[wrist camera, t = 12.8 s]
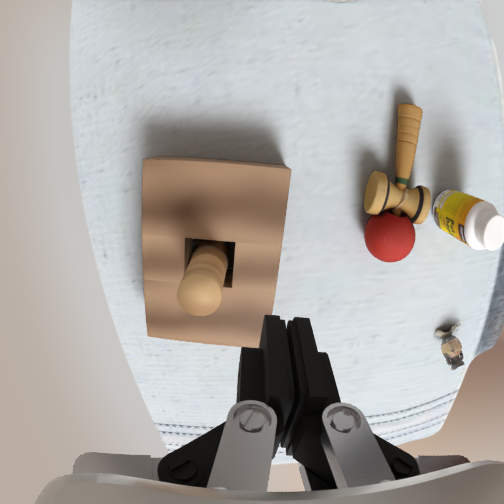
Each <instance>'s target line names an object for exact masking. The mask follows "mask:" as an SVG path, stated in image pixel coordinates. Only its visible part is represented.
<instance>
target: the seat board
mask: <svg viewBox="0 0 504 504" xmlns="http://www.w3.org/2000/svg"><path fill="white" fill-rule="evenodd" d="M290 176H291V169H290V168H288V167H287V166H285V165H276V164H267V163H257V162H246V161H235V160H222V159H207V158H189V157H166V156H157V157H152V158H147V159H143V177H142V257H143V280H144V297H145V311H146V323H147V334H148V336H149V337H156V338H163V339H171V340H179V341H187V342H196V343H205V344H215V345H226V346H238V347H251V348H259V343H260V338H261V332H262V326H263V320H264V316H265V314H266V315H272V311H273V304H274V298H275V291H276V284H277V277H278V269H279V262H280V255H281V248H282V240H283V232H284V225H285V217H286V209H287V201H288V193H289V185H290ZM193 238H194V239H206V240H217V241H229V242H236V244H235V256H234V269H229V268H227V271H226V273H225V279H224V285H223V290H222V296H221V302H220V305H219V307H218V308H217V310H216V311H214V312H213V313H212V314H209V315H206V316H195V315H192V314H190V313H188V312H186V311H185V310H184V309H183V308H182V307H181V306H180V304H179V302H178V300H177V289H178V287H179V285H180V282H181V280H182V278H183V276H184V274H185V272H186V269H187V267H188V265H189V263H190V259H191V256H192V253H193Z"/></svg>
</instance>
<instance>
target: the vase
mask: <svg viewBox="0 0 504 504" xmlns="http://www.w3.org/2000/svg"><path fill="white" fill-rule="evenodd" d="M458 324H459V325H461V324H460V323H458ZM459 325H452V328H451V326H450V328H451V329H450V331H449V332H445V333H444V332H442V331H441V330H439V329H438V330H436V333H435V335H437V336H440V337H441V338H442V339H443V341H442V344H441V350H442V354H443V356H444V357H445V358H446V361H447V364H448V365H450V366H451V365H452V366H451V370H455V369H456V368H457V367H459V366H462V365H464V362H463V361H461V360H462V359H463V354H462V351H461V349H462V346H461V343H460V341H459V339H458V338H456V337H455V336H453V335H452V329H453V328H457V326H459ZM453 330H455V329H453ZM439 331H440V332H439ZM456 331H457V330H456ZM434 338H435V337H434ZM459 354H460V358H459ZM449 359H450V360H451V361H450V360H449Z"/></svg>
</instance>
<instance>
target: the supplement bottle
mask: <svg viewBox="0 0 504 504" xmlns="http://www.w3.org/2000/svg"><path fill="white" fill-rule="evenodd" d="M433 217H434V221H435V223H436V225H437V226H438V227H439V228H440V229H442V230H443V231H445V232H447V233H449V234H450V235H452V236H454V237H455V238H457V239H459V240H460V241H462V242H464V243H465V244H467V245H468V246H470V247H472V248H473V249H476V250H482V249H485V248H487V249H489V250H496V249H498V248H499V247H500V246H501V245H502V244H503V242H504V217H503V216H501V215H500V214H498V212H497V210H496V208H495V207H494V206H493V205H492V204H491V203H489V202H487V201H484V200H481V199H479V198H476V197H473V196H471V195H468V194H465V193H462V192H459V191H457V190H453V189H448V190H445V191H443V192H442V193H440V194H439V196H438V197H437V198H436V200H435V203H434V206H433Z"/></svg>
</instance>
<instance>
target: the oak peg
mask: <svg viewBox="0 0 504 504" xmlns="http://www.w3.org/2000/svg"><path fill="white" fill-rule="evenodd" d="M228 256H229V251H228V247H227V246H226V243H225V241H217V240H206V239H203V240H202V241H201V242H200V243H199V244H198V246H197V248H196V250H195V251H194V252H193V254H192V256H191V259H190V263H189V265H188V267H187V269H186V272H185V274H184V276H183V278H182V280H181V282H180V285H179V287H178V289H177V300H178V302H179V304H180V306H181V307H182V308H183V309H184V310H185V311H186V312H188V313H190V314H192V315H195V316H206V315H209V314H212V313H213V312H214V311H216V310H217V308H218V307H219V305H220V302H221V296H222V290H223V285H224V279H225V273H226V271H227V268H228Z"/></svg>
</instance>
